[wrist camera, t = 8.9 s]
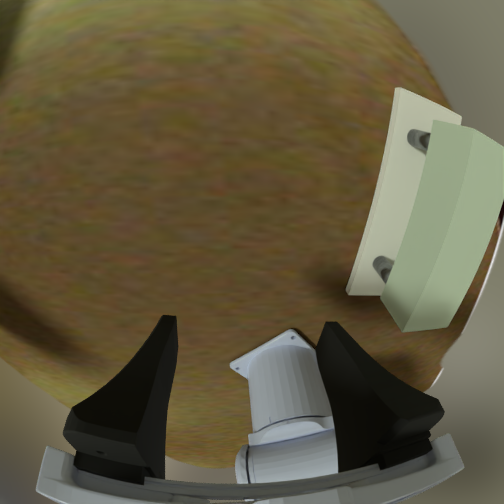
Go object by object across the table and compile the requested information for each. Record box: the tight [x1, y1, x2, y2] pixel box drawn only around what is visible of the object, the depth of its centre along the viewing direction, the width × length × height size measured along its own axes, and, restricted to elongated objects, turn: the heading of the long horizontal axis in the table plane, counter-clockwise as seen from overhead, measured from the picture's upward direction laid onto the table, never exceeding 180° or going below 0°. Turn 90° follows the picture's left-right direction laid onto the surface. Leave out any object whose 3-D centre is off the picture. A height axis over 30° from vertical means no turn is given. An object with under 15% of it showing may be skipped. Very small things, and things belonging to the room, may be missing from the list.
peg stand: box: [346, 88, 462, 295], centre depth 19 cm, size 18×7×4 cm, turn 173°
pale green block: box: [380, 120, 504, 332], centre depth 16 cm, size 14×5×4 cm, turn 173°
